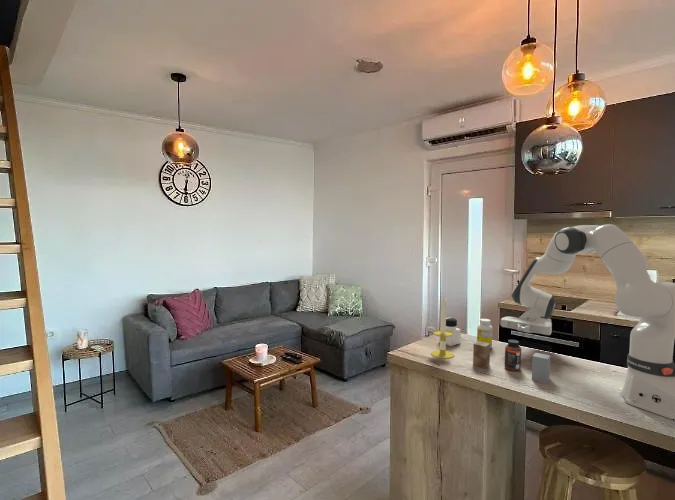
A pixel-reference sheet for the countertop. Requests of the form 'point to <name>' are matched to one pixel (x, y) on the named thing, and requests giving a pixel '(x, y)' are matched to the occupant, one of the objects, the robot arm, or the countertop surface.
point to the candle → (443, 335)
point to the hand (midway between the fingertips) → (521, 329)
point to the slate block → (541, 367)
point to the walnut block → (481, 354)
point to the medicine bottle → (452, 327)
